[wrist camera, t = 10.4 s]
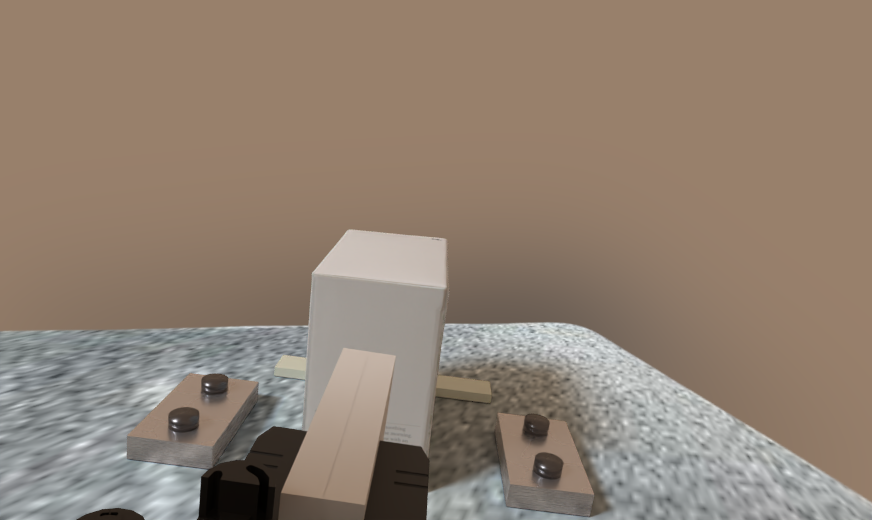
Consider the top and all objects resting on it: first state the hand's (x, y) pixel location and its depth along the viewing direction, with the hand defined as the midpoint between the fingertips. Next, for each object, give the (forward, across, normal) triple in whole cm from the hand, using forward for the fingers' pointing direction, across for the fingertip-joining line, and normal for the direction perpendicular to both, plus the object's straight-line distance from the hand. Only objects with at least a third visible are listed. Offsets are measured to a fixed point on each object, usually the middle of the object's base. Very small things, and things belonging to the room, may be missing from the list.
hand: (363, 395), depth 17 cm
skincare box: (+14, 0, -10) cm, 17 cm away
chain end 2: (+13, +9, -9) cm, 18 cm away
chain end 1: (+13, -9, -10) cm, 19 cm away
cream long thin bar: (+21, 0, -10) cm, 23 cm away
